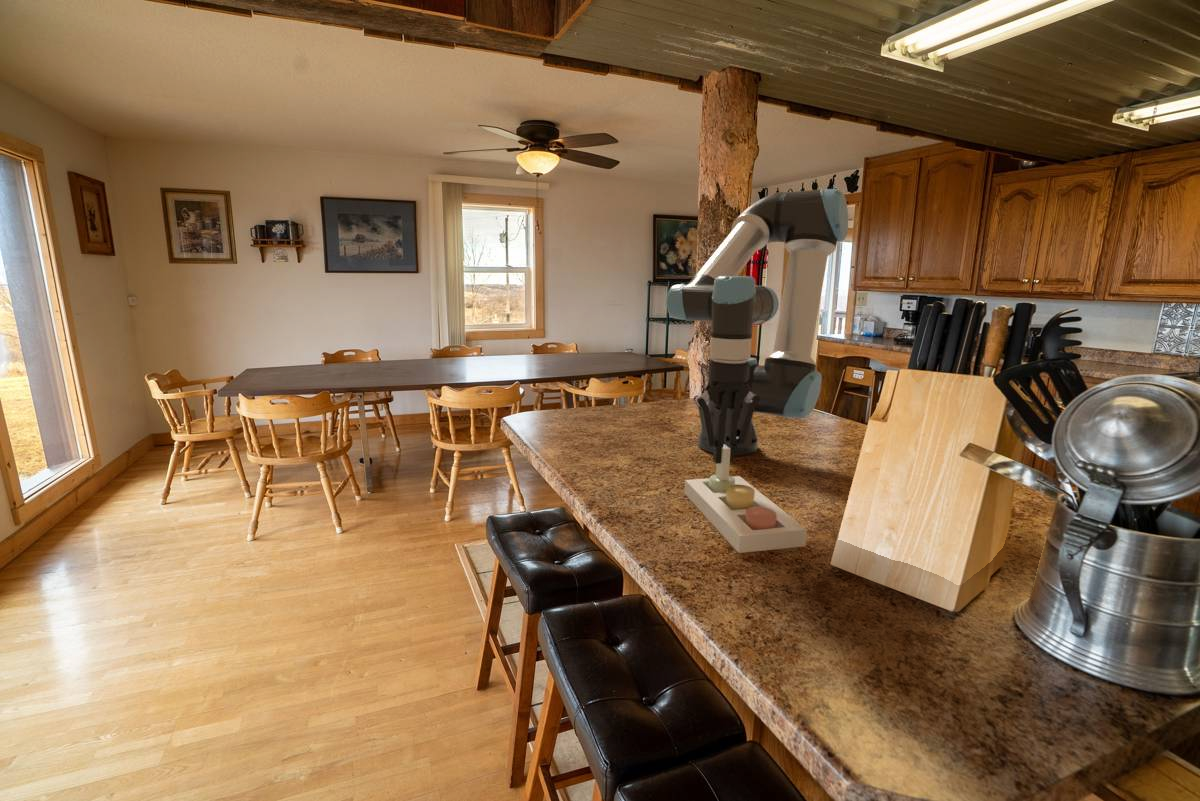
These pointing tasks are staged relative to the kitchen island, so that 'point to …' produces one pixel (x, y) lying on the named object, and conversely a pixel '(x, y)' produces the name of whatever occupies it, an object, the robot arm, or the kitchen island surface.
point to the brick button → (760, 518)
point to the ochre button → (739, 497)
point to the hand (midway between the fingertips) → (722, 477)
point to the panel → (733, 520)
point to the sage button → (720, 484)
